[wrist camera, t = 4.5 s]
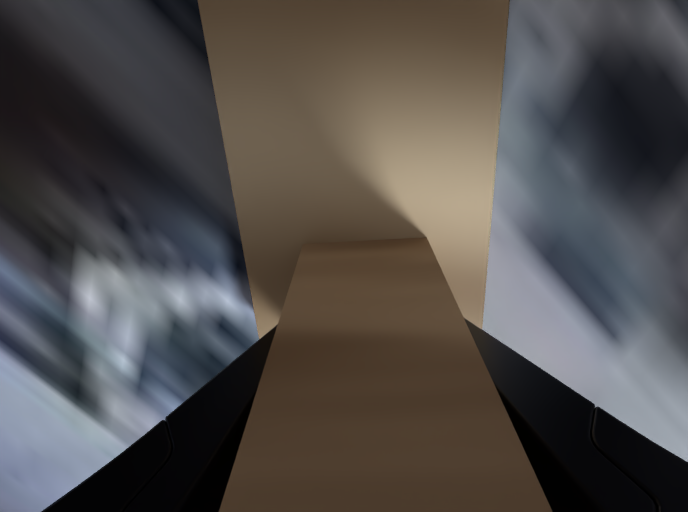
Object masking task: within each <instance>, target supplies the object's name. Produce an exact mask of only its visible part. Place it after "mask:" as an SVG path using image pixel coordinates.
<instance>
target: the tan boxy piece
mask: <svg viewBox="0 0 688 512" xmlns="http://www.w3.org/2000/svg"><path fill="white" fill-rule="evenodd" d="M509 2H510V0H198V5H199V11H200V16H201V22H202V27H203V33H204V38H205V44H206V49H207V55H208V60H209V66H210V71H211V77H212V82H213V88H214V93H215V99H216V104H217V110H218V115H219V121H220V126H221V132H222V137H223V143H224V148H225V154H226V159H227V165H228V170H229V176H230V181H231V187H232V192H233V198H234V203H235V209H236V214H237V220H238V225H239V231H240V236H241V242H242V247H243V253H244V258H245V264H246V269H247V275H248V280H249V286H250V291H251V297H252V302H253V308H254V313H255V319H256V324H257V330H258V335H259V339H260V338H262V337H263V336H264V335H265V334H266V333H268V332H269V331H270V330H271V329H272V328H274V327H275V326H276V325H277V324H278V325H277V328H276V331H275V335H274V338H273V341H272V344H271V347H270V350H269V354H268V357H267V360H266V363H265V366H264V370H263V373H262V376H261V379H260V382H259V385H258V389H257V392H256V395H255V398H254V401H253V405H252V408H251V411H250V414H249V417H248V420H247V424H246V427H245V430H244V433H243V436H242V440H241V443H240V446H239V449H238V452H237V455H236V459H235V462H234V465H233V468H232V471H231V475H230V478H229V481H228V484H227V487H226V490H225V494H224V497H223V500H222V503H221V506H220V510H219V512H552V509H551V507H550V505H549V503H548V501H547V499H546V496H545V494H544V492H543V490H542V488H541V485H540V483H539V481H538V479H537V477H536V475H535V472H534V470H533V468H532V466H531V464H530V461H529V459H528V457H527V455H526V453H525V451H524V448H523V446H522V444H521V442H520V440H519V437H518V435H517V433H516V431H515V429H514V427H513V424H512V422H511V420H510V418H509V416H508V413H507V411H506V409H505V407H504V405H503V403H502V400H501V398H500V396H499V394H498V392H497V389H496V387H495V385H494V383H493V381H492V379H491V376H490V374H489V372H488V370H487V368H486V365H485V363H484V361H483V359H482V357H481V355H480V352H479V350H478V348H477V346H476V344H475V341H474V339H473V337H472V335H471V333H470V331H469V328H468V326H467V324H466V322H465V320H464V318H465V319H467V320H468V321H470V322H471V323H473V324H474V325H476V326H477V327H479V328H480V329H482V324H483V312H484V300H485V288H486V276H487V264H488V253H489V241H490V229H491V217H492V205H493V193H494V181H495V169H496V157H497V145H498V133H499V122H500V110H501V98H502V86H503V74H504V62H505V50H506V38H507V26H508V14H509Z"/></svg>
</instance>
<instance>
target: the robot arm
mask: <svg viewBox="0 0 688 512" xmlns="http://www.w3.org/2000/svg"><path fill="white" fill-rule="evenodd" d="M464 320H465V322H466V324H467V326H468V328H469V331H470V333H471V335H472V337H473V339H474V341H475V344H476V346H477V348H478V350H479V352H480V355H481V357H482V359H483V361H484V363H485V365H486V368H487V370H488V372H489V374H490V376H491V379H492V381H493V383H494V385H495V387H496V389H497V392H498V394H499V396H500V398H501V400H502V403H503V405H504V407H505V409H506V411H507V413H508V416H509V418H510V420H511V422H512V424H513V427H514V429H515V431H516V433H517V435H518V437H519V440H520V442H521V444H522V446H523V448H524V451H525V453H526V455H527V457H528V459H529V461H530V464H531V466H532V468H533V470H534V472H535V475H536V477H537V479H538V481H539V483H540V485H541V488H542V490H543V492H544V494H545V496H546V499H547V501H548V503H549V505H550V507H551V509H552V512H688V462H686V461H685V460H683V459H681V458H680V457H678V456H676V455H674V454H673V453H671V452H669V451H668V450H666V449H664V448H663V447H661V446H659V445H658V444H656V443H654V442H652V441H651V440H649V439H648V438H646V437H645V436H643V435H641V434H640V433H638V432H637V431H635V430H634V429H632V428H630V427H629V426H627V425H626V424H624V423H623V422H621V421H619V420H618V419H616V418H615V417H613V416H612V415H610V414H609V413H607V412H606V411H604V410H603V409H601V408H600V407H595V405H594V404H593V403H592V402H590V401H589V400H587V399H586V398H584V397H583V396H581V395H580V394H578V393H577V392H575V391H574V390H572V389H571V388H569V387H568V386H566V385H565V384H563V383H562V382H560V381H559V380H557V379H556V378H554V377H553V376H551V375H550V374H548V373H547V372H545V371H544V370H542V369H541V368H539V367H538V366H536V365H535V364H533V363H532V362H530V361H529V360H527V359H526V358H524V357H523V356H521V355H520V354H518V353H517V352H515V351H514V350H512V349H511V348H509V347H508V346H506V345H505V344H503V343H501V342H500V341H498V340H497V339H495V338H494V337H492V336H491V335H489V334H488V333H486V332H485V331H483V330H482V329H480V328H479V327H477V326H476V325H474V324H473V323H471V322H470V321H468V320H467V319H465V318H464ZM277 325H278V324H277ZM277 325H276V326H275V327H274V328H272V329H271V330H270V331H269V332H268V333H266V334H265V335H264V336H263V337H262V338H260V339H259V340H258V341H257V342H256V343H254V344H253V345H252V346H251V347H250V348H248V349H247V350H246V351H245V352H244V353H242V354H241V355H240V356H239V357H238V358H236V359H235V360H234V361H233V362H232V363H230V364H229V365H228V366H227V367H226V368H224V369H223V370H222V371H221V372H220V373H218V374H217V375H216V376H215V377H214V378H212V379H211V380H210V381H209V382H208V383H206V384H205V385H204V386H203V387H202V388H200V389H199V390H198V391H197V392H195V393H194V394H193V395H192V396H191V397H189V398H188V399H187V400H186V401H185V402H183V403H182V404H181V405H180V406H179V407H177V408H176V409H175V410H174V411H173V412H171V413H170V414H169V415H168V416H167V417H166V418H165V420H166V421H165V420H162V421H160V422H159V423H158V424H157V425H156V426H154V427H153V428H152V429H151V430H150V431H148V432H147V433H146V434H145V435H144V436H142V437H141V438H140V439H139V440H137V441H136V442H135V443H134V444H132V445H131V446H130V447H129V448H127V449H126V450H125V451H123V452H122V453H121V454H120V455H118V456H117V457H116V458H114V459H113V460H112V461H110V462H109V463H108V464H106V465H105V466H104V467H102V468H101V469H100V470H98V471H97V472H96V473H94V474H93V475H92V476H90V477H89V478H87V479H86V480H85V481H83V482H82V483H81V484H79V485H78V486H76V487H75V488H74V489H72V490H71V491H69V492H68V493H67V494H65V495H64V496H62V497H61V498H60V499H58V500H57V501H56V502H54V503H53V504H51V505H50V506H49V507H47V508H46V509H44V510H43V511H42V512H219V510H220V506H221V503H222V500H223V497H224V494H225V490H226V487H227V484H228V481H229V478H230V475H231V471H232V468H233V465H234V462H235V459H236V455H237V452H238V449H239V446H240V443H241V440H242V436H243V433H244V430H245V427H246V424H247V420H248V417H249V414H250V411H251V408H252V405H253V401H254V398H255V395H256V392H257V389H258V385H259V382H260V379H261V376H262V373H263V370H264V366H265V363H266V360H267V357H268V354H269V350H270V347H271V344H272V341H273V338H274V335H275V331H276V328H277Z"/></svg>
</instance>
